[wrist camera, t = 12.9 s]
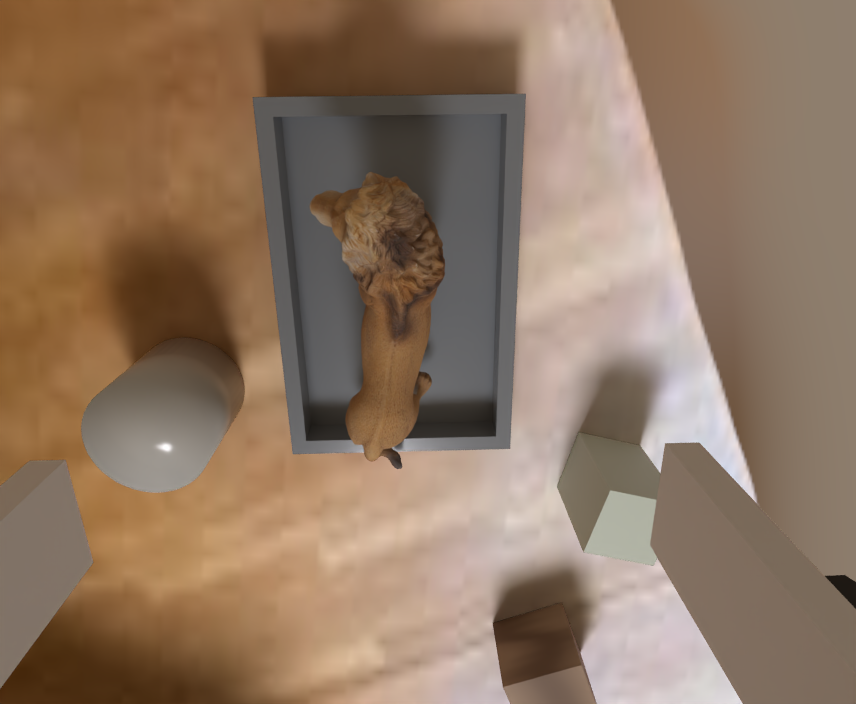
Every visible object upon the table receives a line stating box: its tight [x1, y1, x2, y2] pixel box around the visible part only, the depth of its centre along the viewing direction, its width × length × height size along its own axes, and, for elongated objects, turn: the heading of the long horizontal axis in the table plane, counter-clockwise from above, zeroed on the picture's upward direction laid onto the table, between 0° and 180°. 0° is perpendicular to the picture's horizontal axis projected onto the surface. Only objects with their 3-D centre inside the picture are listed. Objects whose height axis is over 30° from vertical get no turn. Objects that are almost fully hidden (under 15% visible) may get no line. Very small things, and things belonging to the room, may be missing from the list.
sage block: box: [557, 432, 660, 566], centre depth 33 cm, size 4×4×6 cm
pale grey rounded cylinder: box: [81, 338, 245, 493], centre depth 30 cm, size 6×6×6 cm
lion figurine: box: [310, 172, 445, 469], centre depth 26 cm, size 15×5×9 cm, turn 2°
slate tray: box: [253, 94, 526, 454], centre depth 30 cm, size 12×18×3 cm, turn 1°
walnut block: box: [493, 603, 596, 704], centre depth 38 cm, size 5×5×5 cm
